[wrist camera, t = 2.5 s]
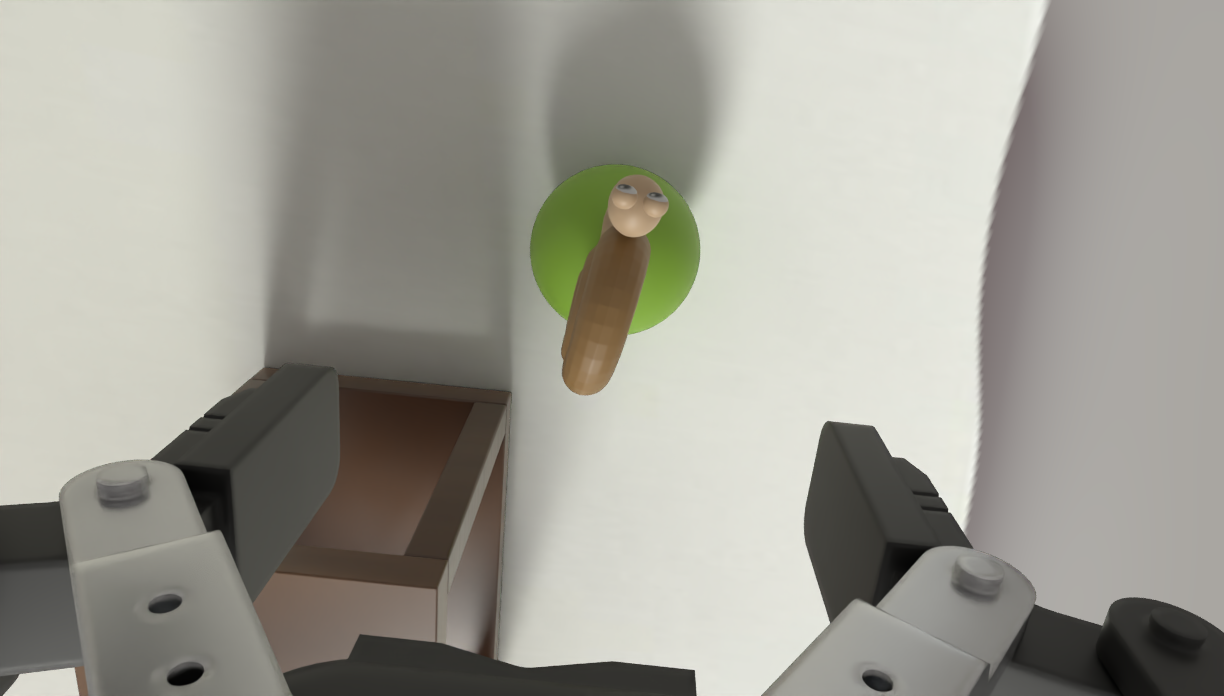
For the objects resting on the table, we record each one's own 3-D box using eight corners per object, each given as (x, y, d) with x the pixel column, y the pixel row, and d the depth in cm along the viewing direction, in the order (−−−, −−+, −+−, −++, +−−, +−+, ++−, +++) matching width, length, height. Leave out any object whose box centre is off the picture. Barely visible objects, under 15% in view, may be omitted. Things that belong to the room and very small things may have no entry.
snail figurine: (723, 147, 28) (773, 223, 17) (671, 321, 30) (685, 489, 19) (566, 106, 28) (512, 155, 17) (526, 285, 30) (454, 433, 19)
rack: (263, 366, 32) (-7, 600, 19) (512, 391, 32) (416, 644, 19) (282, 678, 37) (83, 1030, 24) (495, 699, 37) (412, 1065, 24)
